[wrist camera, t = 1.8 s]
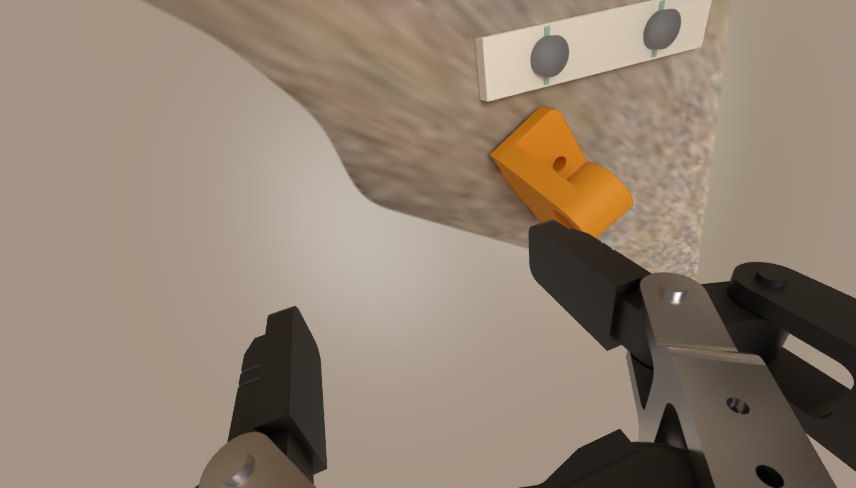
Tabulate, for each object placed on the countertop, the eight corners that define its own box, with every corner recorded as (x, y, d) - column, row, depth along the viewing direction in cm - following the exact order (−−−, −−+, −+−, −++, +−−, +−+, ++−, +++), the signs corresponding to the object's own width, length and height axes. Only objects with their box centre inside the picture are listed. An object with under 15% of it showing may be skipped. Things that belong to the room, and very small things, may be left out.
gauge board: (474, 38, 30) (487, 37, 27) (699, -11, 34) (725, -15, 32) (480, 99, 32) (492, 103, 30) (687, 46, 36) (711, 46, 34)
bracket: (581, 173, 40) (673, 214, 30) (534, 216, 41) (608, 270, 31) (539, 100, 34) (637, 121, 24) (485, 153, 35) (558, 194, 25)
